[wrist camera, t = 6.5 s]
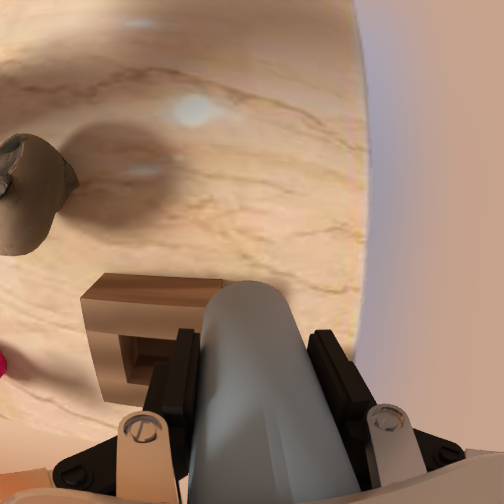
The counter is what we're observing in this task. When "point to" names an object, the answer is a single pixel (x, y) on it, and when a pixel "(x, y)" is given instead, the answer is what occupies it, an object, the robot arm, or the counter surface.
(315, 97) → the counter surface
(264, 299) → the peg
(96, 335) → the socket block
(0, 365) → the pepper mill
